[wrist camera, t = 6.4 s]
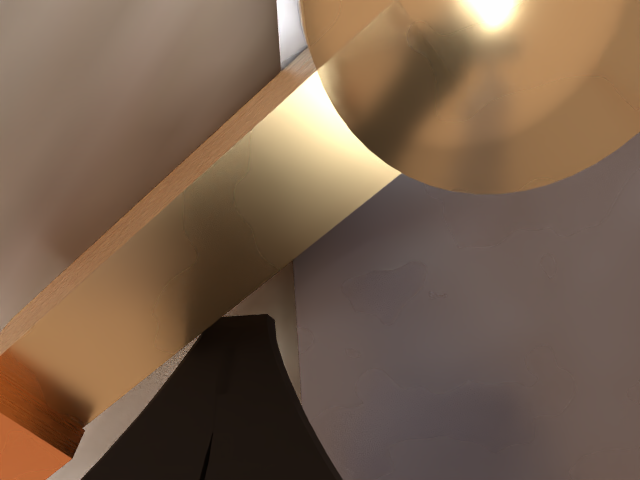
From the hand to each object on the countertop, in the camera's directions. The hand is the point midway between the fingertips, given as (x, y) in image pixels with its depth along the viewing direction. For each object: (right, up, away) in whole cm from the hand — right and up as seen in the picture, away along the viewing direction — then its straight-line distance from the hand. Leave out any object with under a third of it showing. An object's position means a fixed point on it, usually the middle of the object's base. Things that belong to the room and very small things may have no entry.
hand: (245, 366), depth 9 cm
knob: (+1, +4, 0) cm, 4 cm away
